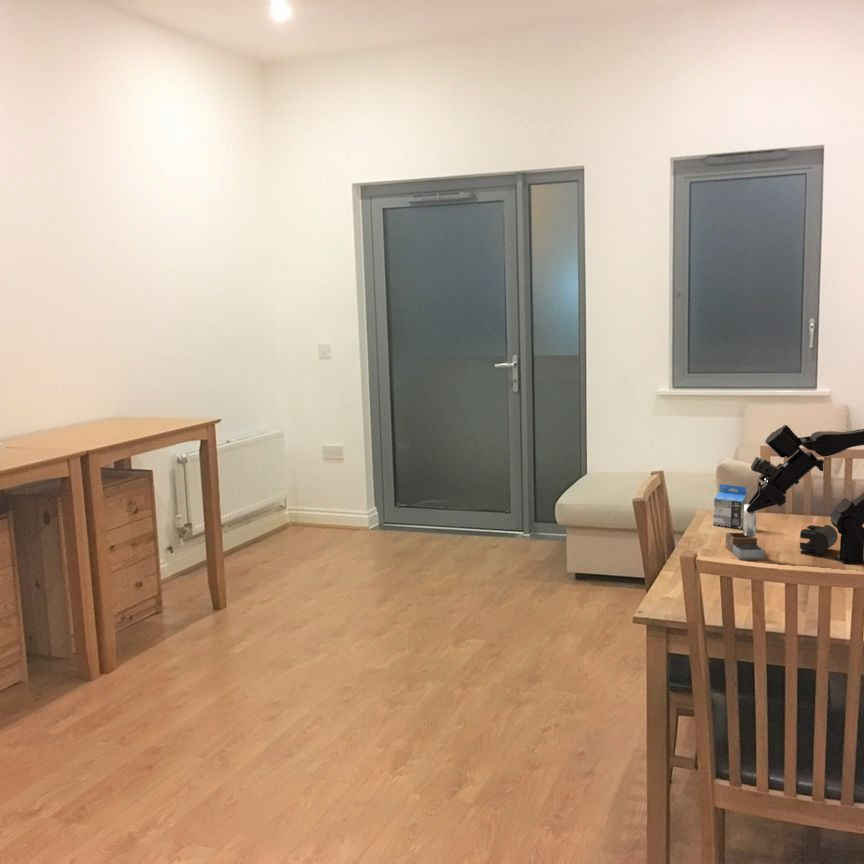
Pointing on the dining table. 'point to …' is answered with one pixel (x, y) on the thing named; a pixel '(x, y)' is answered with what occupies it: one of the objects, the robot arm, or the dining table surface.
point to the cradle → (748, 551)
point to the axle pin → (749, 522)
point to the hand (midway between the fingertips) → (747, 509)
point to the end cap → (818, 539)
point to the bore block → (738, 540)
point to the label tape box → (729, 506)
